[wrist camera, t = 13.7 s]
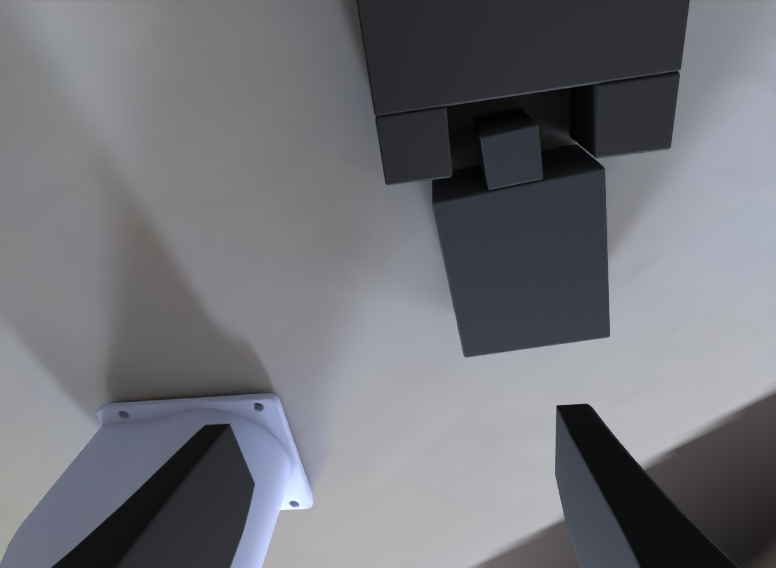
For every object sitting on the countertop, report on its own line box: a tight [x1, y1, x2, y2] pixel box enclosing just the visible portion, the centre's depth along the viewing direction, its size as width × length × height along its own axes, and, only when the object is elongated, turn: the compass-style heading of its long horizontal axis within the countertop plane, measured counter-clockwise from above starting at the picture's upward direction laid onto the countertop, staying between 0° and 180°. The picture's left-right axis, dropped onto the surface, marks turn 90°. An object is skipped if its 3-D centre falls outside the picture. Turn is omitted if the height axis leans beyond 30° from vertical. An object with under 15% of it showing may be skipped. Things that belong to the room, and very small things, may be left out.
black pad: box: [356, 0, 690, 185], centre depth 13 cm, size 8×8×3 cm
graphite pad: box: [432, 107, 610, 357], centre depth 16 cm, size 5×8×3 cm, turn 14°
